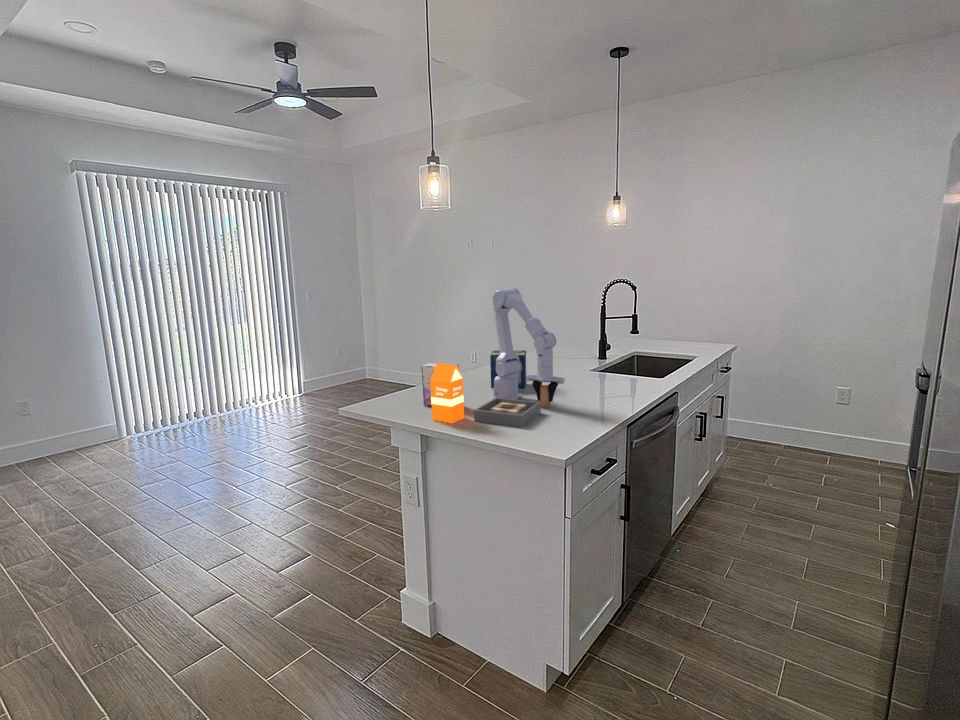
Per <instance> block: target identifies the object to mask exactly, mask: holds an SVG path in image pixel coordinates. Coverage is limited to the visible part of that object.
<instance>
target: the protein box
mask: <svg viewBox="0 0 960 720" xmlns="http://www.w3.org/2000/svg"><path fill="white" fill-rule="evenodd" d="M513 351H514V353H516V354H517V355H518V356H519V360H520V362H521V365H522V370H521V372H520V373H519V376H518V390H525V389H526V388H527V383H528V381H526V376H527V350H523V349H522V350H513ZM489 355H490V358H489V360H490V389H491V388H494V379H495V377H496V376H498V374H497V373H496V359H497V357H498V356H499V355H500V350H492V351H491V352H490V354H489ZM508 360H509V359H508ZM508 360H506V361H508ZM524 388H525V389H524Z"/></svg>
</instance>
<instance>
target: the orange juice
mask: <svg viewBox="0 0 960 720" xmlns="http://www.w3.org/2000/svg"><path fill="white" fill-rule="evenodd" d="M450 364H451V363H450ZM450 364H449V363H441V362H439V363H438V362H437V363H436V366H435V369H434V372H433V375H432V378H431V380H430V381H431V404H432V407H431V419H433V420H432V421H435V420H437V422H441V421H443V422H442V423H447V422H448V423H449V424H454V423H456V422H458V421H460V420H462V419H464V418H465V407H464V403H465V402H464V401H465V399H464V398H465V397H464V378H463V376H462V374H461V372H460V369H459V370H458V368H457V366H456V365H457V364H455V365H450Z"/></svg>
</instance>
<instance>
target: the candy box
mask: <svg viewBox="0 0 960 720" xmlns="http://www.w3.org/2000/svg"><path fill="white" fill-rule="evenodd" d="M450 365H456V366H457V368H458V370H459V371H460V367H459V366H460V364H452V363H450ZM435 366H436V363H435V362H428V363H425V364H422V365H421V377H422V378H421V380H422V394H423V406H424V405H428V406H427V407H431V406H432V404H431V381H430V380H431V378H432V375H433V372H434V369H435Z"/></svg>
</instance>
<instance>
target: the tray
mask: <svg viewBox="0 0 960 720" xmlns="http://www.w3.org/2000/svg"><path fill="white" fill-rule="evenodd" d="M501 402H506V403H516V404H525V405H527V410H526V411H524V412H523V413H522V414H520V415H518V414H509V413H501V412H492V411H490V409H491V408H493V407H495V406H496V405H498V404H499V403H501ZM540 414H541V407H540V401H532V400H525V399H524V400H523V399H516V400H515V399H505V398H493V399H491V400H489V401H487V402H485V403H484V404H481V406H479V407H477V408H475V409H474V410H473V418H474V419H473V421H474V422H479V423H480V422H481V423H486V424H495V425H502V426H509V427H517V428H518V427H519V428H523V427H524V426H525V425H526V424H528V423H529V422H530V421H532V420H533V419H535V418H536V417H537V416H538V415H540Z"/></svg>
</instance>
